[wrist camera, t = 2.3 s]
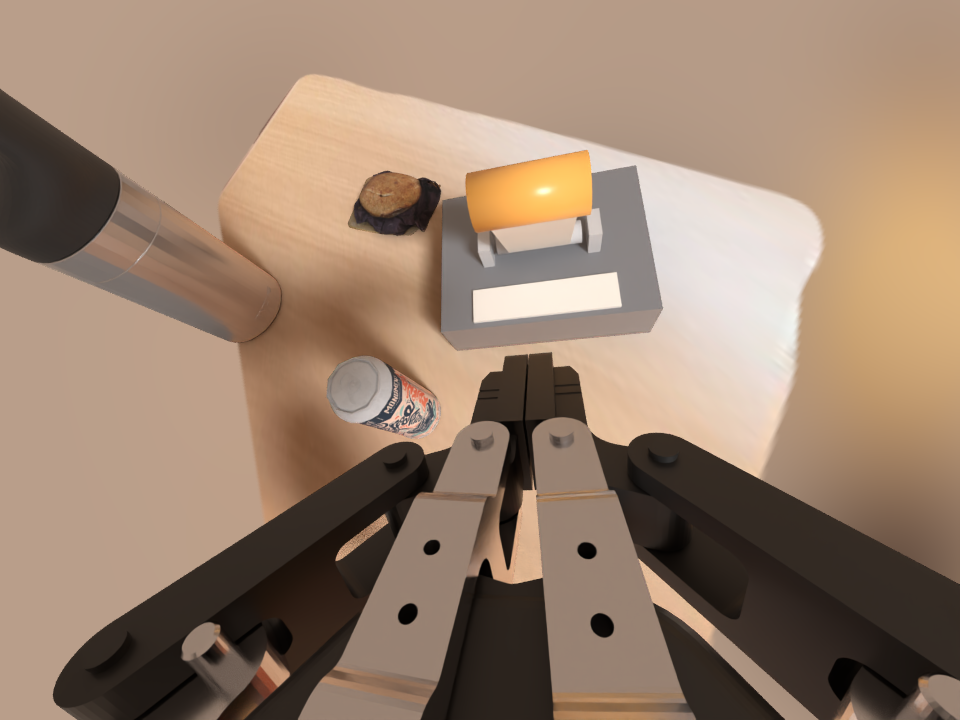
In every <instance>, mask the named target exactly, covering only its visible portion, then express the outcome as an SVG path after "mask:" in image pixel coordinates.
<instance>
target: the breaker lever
mask: <svg viewBox="0 0 960 720" xmlns="http://www.w3.org/2000/svg"><path fill="white" fill-rule="evenodd" d="M466 196H467V204H468V209H469V214H470V219H471V222H472V226H473V228H474V230H475V232H476V233H480V232H487V231H492V232H493V234H494V235H495V239H496V248H497V252H498V255H500V254H507V253H514V252H521V251H528V250H535V249H541V248H548V247H555V246H562V245H569V244H576V243H582V226H581V220H576V219H577V217H581V216H587V215H591V211H592V176H591V164H590V157H589V152H588V150H584V151H579V152H574V153H569V154H564V155H558V156H553V157H548V158H543V159H538V160H533V161H527V162H522V163H517V164H512V165H507V166H502V167H496V168H491V169H486V170H481V171H476V172H471V173H467V174H466Z"/></svg>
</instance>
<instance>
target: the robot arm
mask: <svg viewBox="0 0 960 720" xmlns="http://www.w3.org/2000/svg"><path fill="white" fill-rule="evenodd" d="M0 247H1V248H2V249H5V250H7V251H9V252H11V253H14V254H16V255H19V256H21V257H24V258H26V259H29V260H31V261H34V262H36V263H39V264H41V265H44V266H46V267H48V268H51V269H53V270H56V271H58V272H61V273H63V274H66V275H68V276H71V277H73V278H75V279H78V280H80V281H83V282H86V283H88V284H91V285H93V286H96V287H98V288H100V289H103V290H105V291H108V292H110V293H113V294H115V295H118V296H120V297H122V298H125V299H127V300H130V301H132V302H135V303H137V304H139V305H142V306H145V307H147V308H149V309H152V310H154V311H157V312H159V313H162V314H164V315H166V316H169V317H171V318H174V319H176V320H179V321H181V322H184V323H186V324H188V325H191V326H193V327H195V328H198V329H200V330H203V331H205V332H207V333H210V334H212V335H215V336H217V337H220V338H222V339H225V340H227V341H230V342H235V343H236V342H245V341H248V340H251V339H253V338H255V337H257V336H258V335H260V334H261V333H262V332H264V331H265V330H266V329H267V328H268V327H269V326H270V324H271V323H272V321H273V320H274V319H275V317H276V315H277V313H278V310H279V307H280V304H281V289H280V287H279V284H278V282H277V281H276V280H275V278H273V277H272V276H271V275H269V274H268V273H267V272H265V271H264V270H262V269H261V268H259V267H258V266H256V265H255V264H253V263H252V262H251V261H249V260H248V259H246V258H245V257H244V256H242V255H241V254H239V253H238V252H236V251H235V250H233V249H232V248H230V247H229V246H228V245H226V244H225V243H223V242H222V241H220V240H219V239H217V238H216V237H214V236H213V235H211V234H210V233H208V232H207V231H206V230H204V229H203V228H201V227H200V226H198V225H197V224H196V223H194V222H192V221H191V220H190V219H188V218H187V217H185V216H184V215H182V214H181V213H180V212H178V211H177V210H175V209H174V208H172V207H171V206H169V205H168V204H166V203H165V202H163V201H162V200H160V199H159V198H158V197H156V196H155V195H153V194H152V193H150V192H149V191H147V190H146V189H144V188H143V187H141V186H140V185H138V184H137V183H136V182H134V181H133V180H131V179H130V178H128V177H127V176H125V175H124V174H122V173H121V172H120V171H118V170H117V169H115V168H113V167H112V166H111V165H109V164H108V163H106V162H105V161H103V160H102V159H100V158H99V157H97V156H96V155H94V154H93V153H92V152H90V151H89V150H87V149H86V148H84V147H83V146H81V145H80V144H78V143H77V142H76V141H74V140H73V139H71V138H70V137H68V136H67V135H65V134H64V133H63V132H61V131H60V130H58V129H57V128H55V127H54V126H52V125H51V124H49V123H48V122H47V121H45V120H44V119H42V118H41V117H39V116H38V115H37V114H35V113H34V112H32V111H31V110H29V109H28V108H26V107H25V106H23V105H22V104H21V103H19V102H18V101H16V100H15V99H13V98H12V97H11V96H9V95H8V94H6V93H5V92H4V91H2V90H1V89H0ZM479 391H480V392H479V394H478V398H477V399H478V400H477V402H476V405H475V409H474V413H473V417H472V420H471V424H470V425H468V426H467V427H465V428H463V429H462V430H461V431H460V432H459V433H458V434H457V436H456V438H455V440H454V443H453V445H452V447H450V448H448V449H445V450H442V451H438V452H434V453H430V454H427V455H424V452H423V449H422V448H421V446H419V445H418V444H416V443H413V442H399V443H395V444H392V445H389V446H387V447H385V448H383V449H381V450H380V451H378V452H377V453H375V454H374V455H372V456H371V457H369V458H367V459H366V460H364V461H363V462H361V463H360V464H358V465H356V466H355V467H353V468H352V469H350V470H349V471H347V472H346V473H344V474H342V475H341V476H339V477H338V478H336V479H335V480H333V481H332V482H330V483H328V484H327V485H325V486H324V487H322V488H321V489H319V490H317V491H316V492H314V493H313V494H311V495H310V496H308V497H307V498H305V499H303V500H302V501H300V502H299V503H297V504H296V505H294V506H293V507H291V508H289V509H288V510H286V511H285V512H283V513H282V514H280V515H278V516H277V517H275V518H274V519H272V520H271V521H269V522H268V523H266V524H264V525H263V526H261V527H260V528H258V529H257V530H255V531H254V532H252V533H251V534H249V535H247V536H246V537H244V538H243V539H241V540H239V541H238V542H237V543H235V544H233V545H232V546H230V547H229V548H227V549H225V550H224V551H222V552H221V553H219V554H218V555H216V556H215V557H213V558H211V559H210V560H209V561H207V562H205V563H204V564H202V565H201V566H199V567H197V568H196V569H194V570H193V571H191V572H190V573H188V574H186V575H185V576H183V577H182V578H180V579H179V580H177V581H176V582H174V583H172V584H171V585H170V586H168V587H166V588H165V589H163V590H161V591H160V592H158V593H157V594H155V595H154V596H152V597H151V598H149V599H147V600H146V601H145V602H143V603H141V604H140V605H138V606H137V607H135V608H133V609H132V610H130V611H129V612H127V613H126V614H124V615H123V616H121V617H119V618H118V619H116V620H115V621H113V622H112V623H110V624H109V625H107V626H106V627H104V628H103V629H102V630H100V631H99V632H98V633H96V634H95V635H94V636H93V637H92V638H91V639H89V640H88V641H87V642H86V643H85V644H84V645H83V646H82V647H81V648H80V649H79V650H78V651H77V652H76V654H75V655H74V656H73V657H72V658H71V659H70V661H69V662H68V663H67V665H66V666H65V667H64V669H63V670H62V672H61V674H60V676H59V677H58V679H57V681H56V684H55V687H54V691H53V699H54V702H55V703H56V705H58V706H59V707H60V708H62V709H63V710H65V711H66V712H67V713H69V714H70V715H72V716H73V717H75V718H76V719H77V720H785V719H784V718H783V717H782V716H781V715H780V714H779V713H778V712H777V711H776V710H775V709H774V708H773V707H772V706H771V705H770V704H769V703H768V702H767V701H766V700H765V699H763V697H762V696H761V695H760V694H758V692H757V691H756V690H755V689H754V688H753V687H752V686H751V685H750V684H748V682H746V680H745V679H744V678H743V677H742V676H741V675H740V674H739V673H738V672H737V671H736V670H735V669H734V668H732V666H731V665H729V663H728V662H726V661H725V660H724V659H723V658H722V657H721V656H720V655H719V654H718V653H717V652H716V651H715V650H714V649H713V648H712V647H711V646H710V645H709V644H708V643H707V642H706V641H705V640H704V639H703V638H702V637H701V636H700V635H699V634H698V633H697V632H696V631H694V630H693V629H692V628H691V627H689V626H688V625H687V624H686V623H685V622H683V621H682V620H681V619H679V618H678V617H676V616H675V615H673V614H672V613H670V612H669V611H667V610H665V609H664V608H662V607H660V606H658V605H656V604H654V603H653V602H652V599H651V596H650V593H649V590H648V587H647V584H646V581H645V578H644V575H643V572H642V569H641V566H640V563H639V560H638V558H639V559H640V560H641V561H642V562H643V563H644V564H646V565H647V566H648V567H649V568H650V569H651V570H652V571H653V572H655V573H656V574H657V575H658V576H659V577H660V578H661V579H662V580H663V581H665V582H666V583H667V584H668V585H669V586H670V587H671V588H672V589H674V590H675V591H676V592H677V593H678V594H679V595H680V596H681V597H682V598H684V599H685V600H686V601H687V602H688V603H689V604H690V605H691V606H692V607H694V608H695V609H696V610H697V611H698V612H699V613H700V614H701V615H703V616H704V617H705V618H706V619H707V620H708V621H709V622H710V623H711V624H713V625H714V626H715V627H716V628H717V629H718V630H719V631H720V632H722V633H723V634H724V635H725V636H726V637H727V638H728V639H729V640H731V641H732V642H733V643H734V644H735V645H736V646H737V647H738V648H739V649H740V650H742V651H743V652H744V653H745V654H746V655H747V656H748V657H749V658H751V659H752V660H753V661H754V662H755V663H756V664H757V665H758V666H759V667H761V668H762V669H763V670H764V671H765V672H766V673H767V674H769V675H770V676H771V677H772V678H773V679H774V680H775V681H776V682H777V683H779V684H780V685H781V686H782V687H783V688H784V689H785V690H786V691H787V692H789V693H790V694H791V695H792V696H793V697H794V698H795V699H796V700H798V701H799V702H800V703H801V704H802V705H803V706H804V707H805V708H806V709H808V710H809V711H810V712H811V713H812V714H813V715H814V716H815V717H816V718H818V719H819V720H960V584H958V583H956V582H954V581H952V580H950V579H948V578H947V577H945V576H943V575H941V574H939V573H937V572H935V571H933V570H931V569H929V568H927V567H926V566H924V565H922V564H920V563H918V562H916V561H914V560H912V559H910V558H908V557H907V556H904V555H903V554H901V553H899V552H897V551H895V550H893V549H891V548H889V547H888V546H886V545H884V544H882V543H880V542H878V541H876V540H874V539H872V538H871V537H869V536H867V535H865V534H862V533H861V532H859V531H857V530H855V529H853V528H851V527H850V526H848V525H846V524H844V523H842V522H840V521H838V520H836V519H834V518H832V517H831V516H829V515H827V514H825V513H823V512H821V511H819V510H817V509H815V508H813V507H812V506H810V505H808V504H806V503H804V502H802V501H800V500H798V499H796V498H795V497H793V496H791V495H789V494H787V493H785V492H783V491H781V490H779V489H777V488H775V487H774V486H772V485H770V484H768V483H766V482H764V481H762V480H760V479H758V478H756V477H755V476H753V475H751V474H749V473H747V472H745V471H743V470H741V469H739V468H737V467H736V466H734V465H732V464H730V463H728V462H726V461H724V460H722V459H720V458H718V457H717V456H715V455H713V454H711V453H709V452H707V451H705V450H703V449H701V448H699V447H698V446H696V445H694V444H692V443H690V442H688V441H686V440H684V439H682V438H680V437H677V436H674V435H671V434H665V433H648V434H643V435H640V436H638V437H636V438H635V439H633V440H632V441H631V443H630V444H629V446H622V445H617V444H613V443H609V442H606V441H604V440H602V439H600V438H598V437H596V436H595V435H594V434H593V433H592V432H591V431H590V429H589V428H588V425H587V421H586V415H585V409H584V404H583V398H582V393H581V386H580V381H579V375H578V373H577V372H576V371H575V370H574V369H573V368H572V367H570V366H565V367H553V358H552V352H550V353H538V354H529V358H528V354H527V355H515V356H505V360H504V365H503V371H499V372H490V373H489V374H488V375H487V376H486V377H485V378H484V379H483V380H482V383H481V386H480V390H479ZM533 480H534V487H535V490H537V495H536V500H537V512H538V524H539V537H540V549H541V561H542V573H543V578H540V579H536V580H532V581H527V582H523V583H518V584H513V577H514V570H515V563H516V556H517V549H518V542H519V535H520V528H521V521H522V509H521V505H522V498H523V490H532V485H533ZM383 514H385V515H386V518H387V520H388V524H387V525H385V526H384V527H383V528H381V529H380V530H379V531H378V532H376V533H375V534H374V535H372V536H371V537H370V538H369V539H367V540H366V541H365V542H363V543H362V544H361V545H360V546H358V547H357V548H356V549H354V550H353V551H352V552H351V553H349V554H348V555H347V556H345V557H344V558H343V559H341V560H339V561H335V560H336V556H337V553H338V552H339V550H340V549H341V547H342V546H343V545H344V544H345V543H347V542H348V541H349V540H350V539H352V538H353V537H354V536H356V535H357V534H358V533H360V532H361V531H362V530H364V529H365V528H366V527H368V526H369V525H370V524H372V523H373V522H374V521H376V520H377V519H378V518H380V517H381V516H382V515H383Z"/></svg>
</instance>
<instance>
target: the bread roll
mask: <svg viewBox="0 0 960 720" xmlns="http://www.w3.org/2000/svg"><path fill="white" fill-rule="evenodd" d="M433 182H434V183H433ZM440 187H441V186H440V185H438V184H437V183H436V182H435V181H431V180H429V179H427V178H420V179H415V178H414V177H411V176H408V175H404V174H399V173H393V172H390V171H384V172H381V173H378V174H376V175H373V177H370V178H368V179H367V180H366V182H365V184H364V187H363V189H362V191H361V194H360V196H359V198H358V200H357V202H356V203H355V205H354V210H353V213H352V215H351V217H350V220H349V222H348V225H349V227H350V228H354V229H357V230H363V231H368V232H374V233H380V234H386V235H387V234H390V235H397V236H398V235H412V234H414V232H416V231H417V230H418V229H420V230H422V231H423V232H424V231H425V230H426V228H427V226H428V223H429V220H430V218H431V216H432V214H433V211H434V210H435V208H436V206H437V204H438V202H439V200H440V194H441V189H440Z"/></svg>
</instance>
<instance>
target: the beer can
mask: <svg viewBox="0 0 960 720" xmlns="http://www.w3.org/2000/svg"><path fill="white" fill-rule="evenodd" d="M327 398H328V400H329V402H330V405H331V407H332V409H333V411H334V413H335V414H336V415H337V416H338V417H339V418H341V419H343V420H344V421H347V422H351V423H360V424H363V425H367V426H371V427H374V428H378V429H382V430H386V431H389V432H393V433H397V434H400V435H403V436H405V437H408V438H411V439H418V438H422V437H425V436H427V435H428V434H430V433H431V432H432V431H433V430H434V429H435V427H436V426H437V424H438V422H439V419H440V414H441V411H440V404H439V401H438V400H437V398H436V397H435V395H434V394H433V393H431V392H430V391H428V390H427V389H425V388H424V387H422V386H420V385H419V384H417V383H416V382H414V381H413V380H411V379H410V378H408V377H406V376H405V375H403V374H402V373H400V372H399V371H397V370H395V369H394V368H392V367H391V366H389V365H388V364H386V363H384V362H383V361H381V360H380V359H377V358H375V357H372V356H358V357H353V358H351V359H349V360H347V361H344V362H342V363H340V364H338V365H337V367H336V368H335V370H334V371H333V373H332V374H331V376H330V377H329V378H328V384H327Z"/></svg>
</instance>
